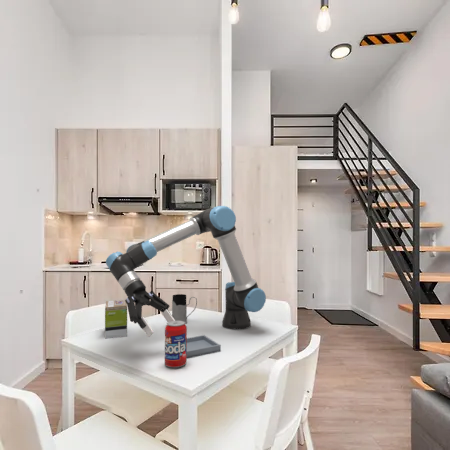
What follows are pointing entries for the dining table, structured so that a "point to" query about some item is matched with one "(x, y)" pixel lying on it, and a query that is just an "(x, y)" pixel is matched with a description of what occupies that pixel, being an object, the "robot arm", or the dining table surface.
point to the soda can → (175, 344)
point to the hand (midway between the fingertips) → (163, 329)
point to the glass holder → (180, 307)
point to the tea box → (115, 319)
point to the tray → (201, 346)
